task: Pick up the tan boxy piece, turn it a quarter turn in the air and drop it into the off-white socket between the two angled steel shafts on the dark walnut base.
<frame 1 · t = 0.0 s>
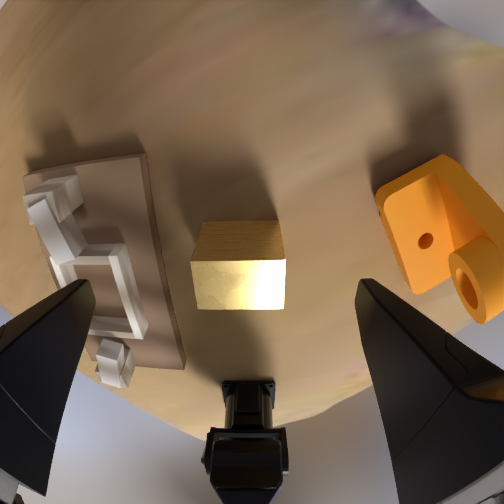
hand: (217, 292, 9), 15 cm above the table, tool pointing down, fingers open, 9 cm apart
coupling base: (109, 277, 27), on the table
bracket: (421, 220, 24), on the table
tan boxy piece: (241, 242, 25), on the table
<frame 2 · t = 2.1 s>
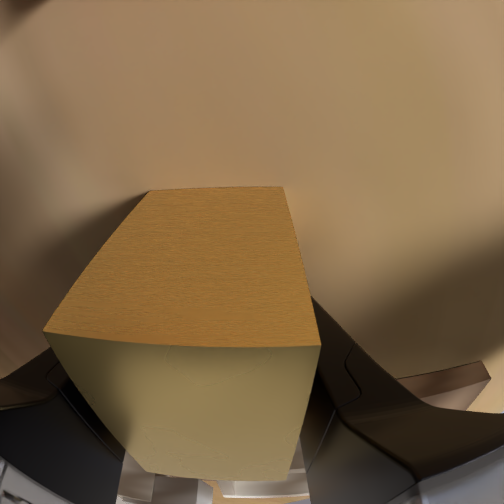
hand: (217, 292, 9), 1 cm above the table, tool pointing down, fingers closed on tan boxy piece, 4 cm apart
coupling base: (292, 437, 17), on the table
tan boxy piece: (220, 273, 10), on the table, touching gripper
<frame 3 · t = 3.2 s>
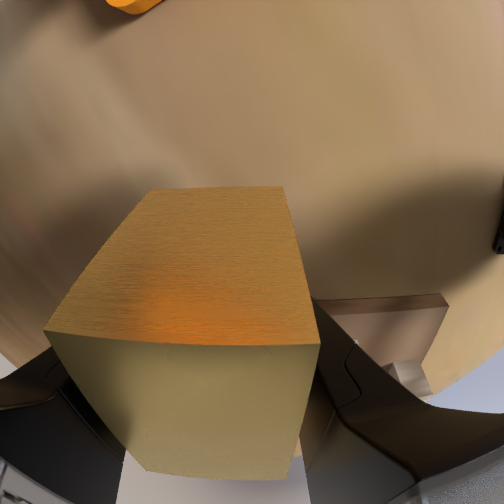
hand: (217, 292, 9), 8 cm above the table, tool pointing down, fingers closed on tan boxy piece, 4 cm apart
coupling base: (287, 359, 23), on the table
tan boxy piece: (220, 272, 10), point 7 cm above the table, touching gripper
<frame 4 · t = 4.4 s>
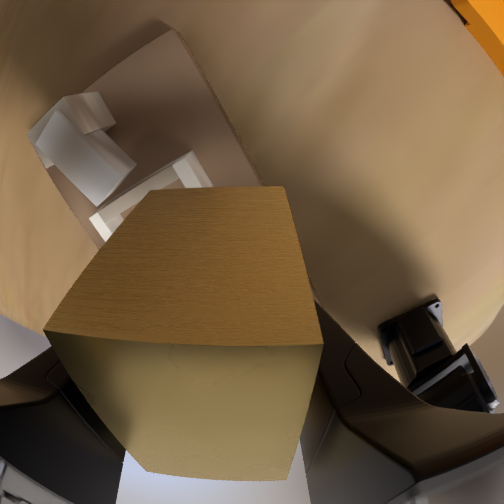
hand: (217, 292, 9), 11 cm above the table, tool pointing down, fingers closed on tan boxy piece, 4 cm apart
coupling base: (186, 228, 21), on the table
bracket: (500, 28, 12), on the table
tan boxy piece: (220, 272, 10), point 10 cm above the table, touching gripper
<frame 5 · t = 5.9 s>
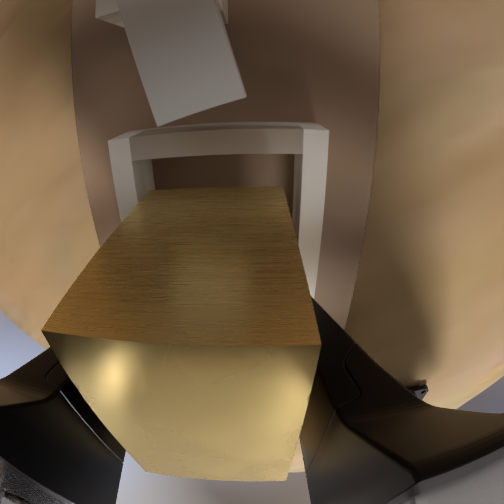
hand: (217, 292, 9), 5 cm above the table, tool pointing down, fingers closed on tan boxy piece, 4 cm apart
coupling base: (227, 218, 14), on the table
tan boxy piece: (220, 272, 10), point 4 cm above the table, touching gripper
when the fingers open (4 cm above the table, at t = 6.8 s): tan boxy piece drops 2 cm, resting on coupling base.
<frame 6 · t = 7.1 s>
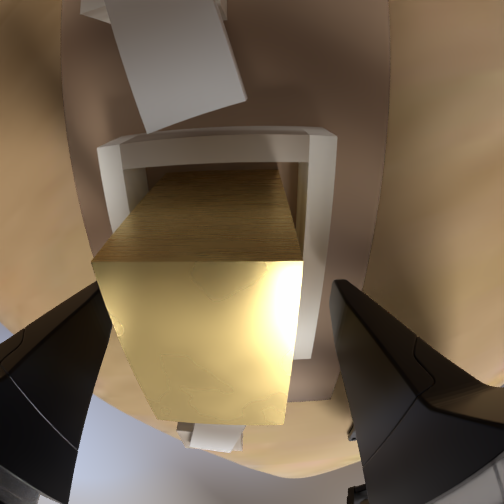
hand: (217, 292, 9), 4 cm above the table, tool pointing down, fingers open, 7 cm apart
coupling base: (227, 227, 13), on the table
tan boxy piece: (225, 244, 12), point 1 cm above the table, touching coupling base
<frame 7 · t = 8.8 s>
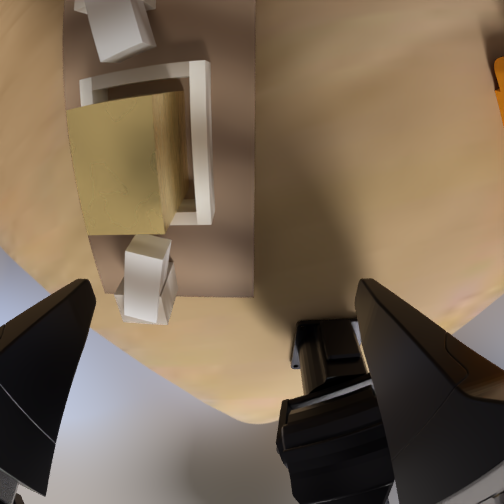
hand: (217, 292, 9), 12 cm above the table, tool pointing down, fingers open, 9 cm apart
coupling base: (160, 137, 18), on the table
tan boxy piece: (153, 142, 17), point 1 cm above the table, touching coupling base
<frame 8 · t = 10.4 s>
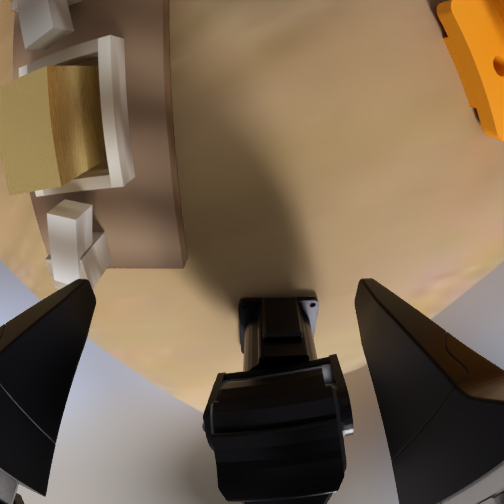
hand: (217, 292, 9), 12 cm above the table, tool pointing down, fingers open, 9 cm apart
coupling base: (90, 113, 17), on the table
bracket: (484, 61, 14), on the table
tan boxy piece: (80, 116, 16), point 1 cm above the table, touching coupling base
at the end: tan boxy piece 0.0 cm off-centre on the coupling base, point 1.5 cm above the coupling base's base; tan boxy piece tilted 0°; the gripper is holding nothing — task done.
